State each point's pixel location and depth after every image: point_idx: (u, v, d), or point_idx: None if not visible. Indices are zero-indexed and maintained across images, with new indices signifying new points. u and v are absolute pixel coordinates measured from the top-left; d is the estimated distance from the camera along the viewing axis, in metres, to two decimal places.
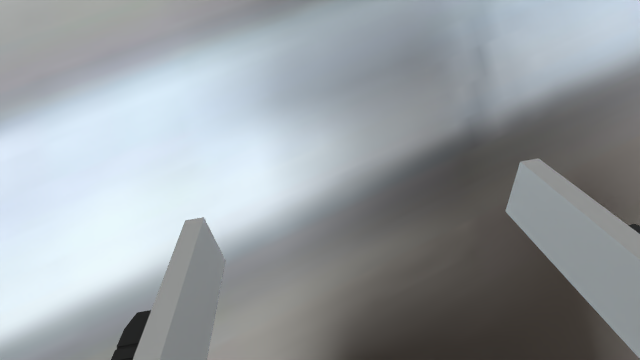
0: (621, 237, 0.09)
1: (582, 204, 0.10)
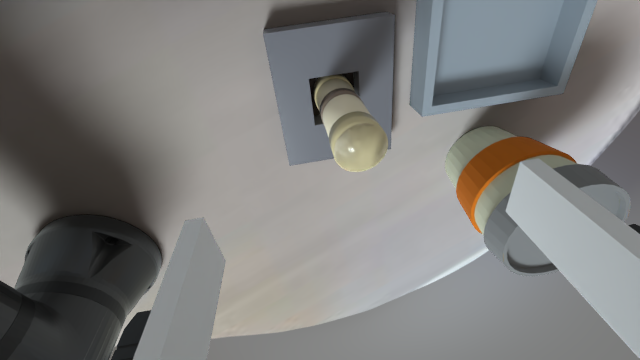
0: (621, 237, 0.09)
1: (582, 204, 0.10)
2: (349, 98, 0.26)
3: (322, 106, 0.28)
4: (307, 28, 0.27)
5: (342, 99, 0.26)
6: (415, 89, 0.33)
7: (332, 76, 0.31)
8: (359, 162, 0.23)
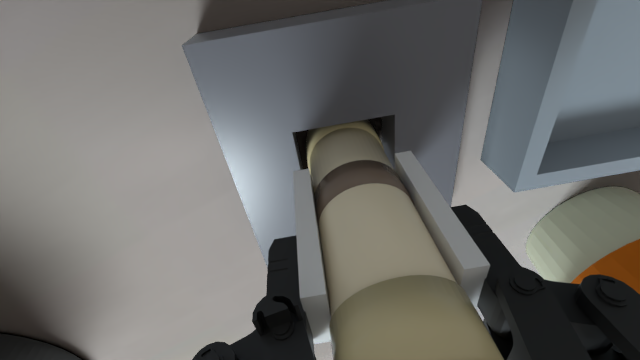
0: (437, 214, 0.10)
1: (423, 188, 0.12)
2: (381, 201, 0.10)
3: (318, 202, 0.12)
4: (282, 30, 0.12)
5: (363, 204, 0.10)
6: (499, 138, 0.17)
7: None
8: None
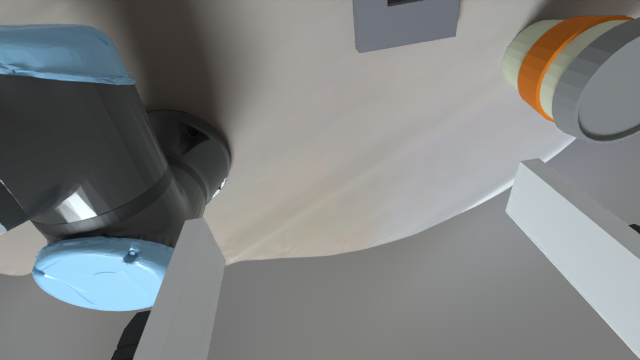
0: (621, 237, 0.09)
1: (582, 204, 0.10)
2: None
3: None
4: None
5: None
6: None
7: None
8: None
